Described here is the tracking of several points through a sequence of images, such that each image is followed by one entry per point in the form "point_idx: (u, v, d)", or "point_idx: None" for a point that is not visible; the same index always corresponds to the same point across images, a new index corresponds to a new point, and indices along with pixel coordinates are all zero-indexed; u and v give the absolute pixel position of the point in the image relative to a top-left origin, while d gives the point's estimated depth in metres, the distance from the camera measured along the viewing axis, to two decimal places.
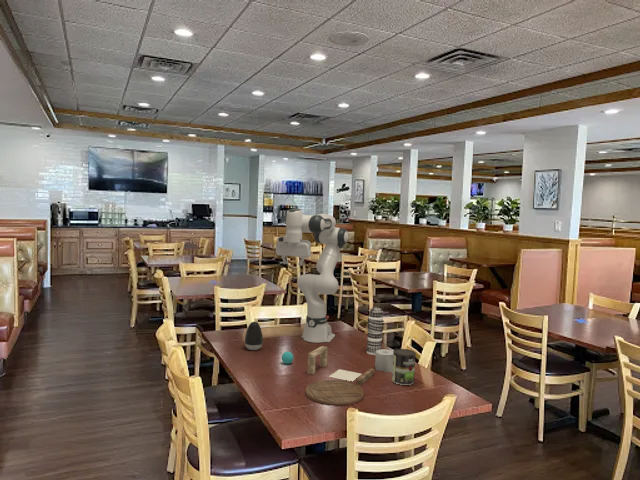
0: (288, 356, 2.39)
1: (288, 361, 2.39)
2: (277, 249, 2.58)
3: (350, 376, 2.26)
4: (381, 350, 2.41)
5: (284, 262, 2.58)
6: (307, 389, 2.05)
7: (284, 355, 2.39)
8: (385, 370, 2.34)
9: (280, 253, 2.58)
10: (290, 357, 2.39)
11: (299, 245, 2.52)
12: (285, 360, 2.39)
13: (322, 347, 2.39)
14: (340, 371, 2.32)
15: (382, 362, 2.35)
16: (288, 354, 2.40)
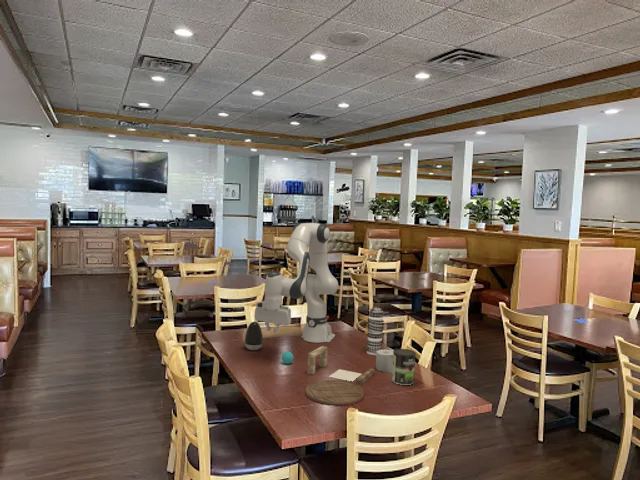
0: (288, 356, 2.39)
1: (288, 361, 2.39)
2: (256, 314, 2.46)
3: (350, 376, 2.26)
4: (382, 350, 2.41)
5: (267, 329, 2.45)
6: (307, 389, 2.05)
7: (284, 355, 2.39)
8: (386, 370, 2.34)
9: (259, 319, 2.46)
10: (290, 357, 2.39)
11: (278, 311, 2.41)
12: (285, 360, 2.39)
13: (322, 347, 2.39)
14: (340, 371, 2.32)
15: (383, 362, 2.34)
16: (288, 354, 2.40)
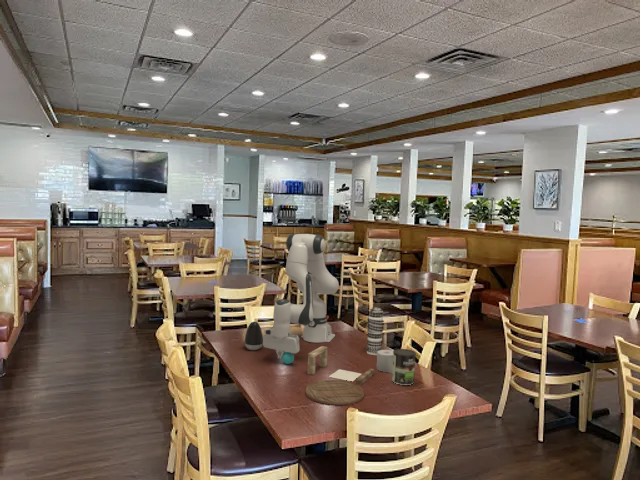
0: (289, 357, 2.39)
1: (288, 362, 2.39)
2: (264, 341, 2.45)
3: (350, 376, 2.26)
4: (382, 350, 2.41)
5: (279, 357, 2.42)
6: (307, 389, 2.05)
7: (285, 355, 2.39)
8: (386, 371, 2.34)
9: (267, 346, 2.44)
10: (291, 358, 2.39)
11: (286, 339, 2.39)
12: (286, 361, 2.39)
13: (322, 347, 2.39)
14: (340, 371, 2.32)
15: (384, 362, 2.34)
16: (289, 355, 2.39)
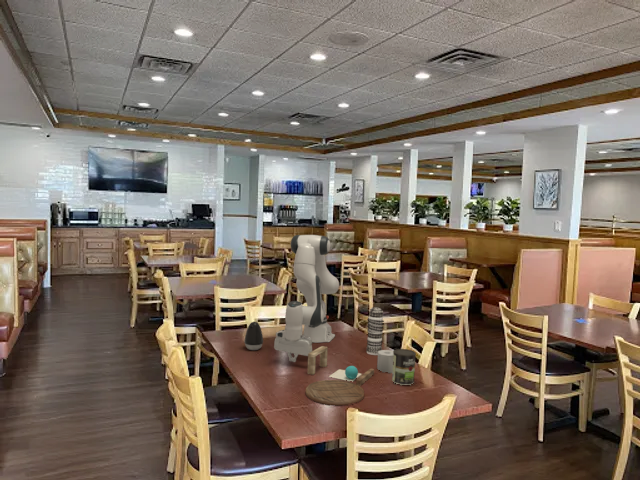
0: (351, 369, 2.21)
1: (354, 373, 2.21)
2: (276, 344, 2.42)
3: None
4: (383, 351, 2.40)
5: (290, 359, 2.40)
6: (307, 389, 2.05)
7: (347, 371, 2.22)
8: (387, 371, 2.34)
9: (279, 349, 2.41)
10: (353, 368, 2.22)
11: (299, 342, 2.36)
12: (351, 374, 2.21)
13: (322, 347, 2.39)
14: (340, 371, 2.32)
15: (384, 362, 2.34)
16: (349, 367, 2.22)
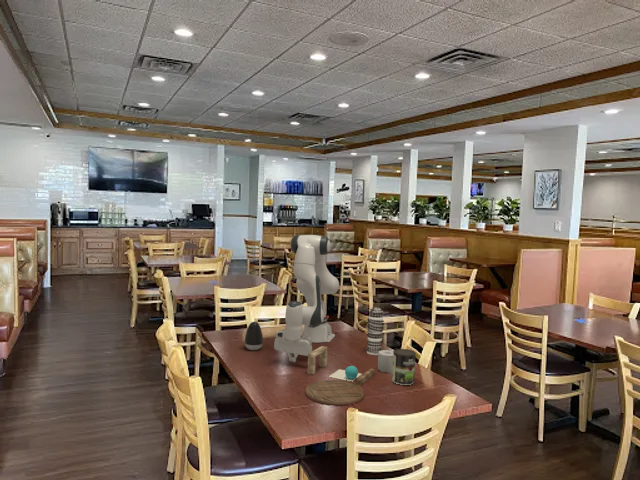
0: (351, 369, 2.21)
1: (354, 373, 2.21)
2: (276, 344, 2.42)
3: None
4: (384, 351, 2.40)
5: (290, 359, 2.40)
6: (307, 389, 2.05)
7: (347, 371, 2.22)
8: (388, 371, 2.33)
9: (279, 349, 2.41)
10: (353, 368, 2.22)
11: (299, 342, 2.36)
12: (351, 374, 2.21)
13: (322, 347, 2.39)
14: (340, 371, 2.32)
15: (385, 362, 2.34)
16: (349, 367, 2.22)
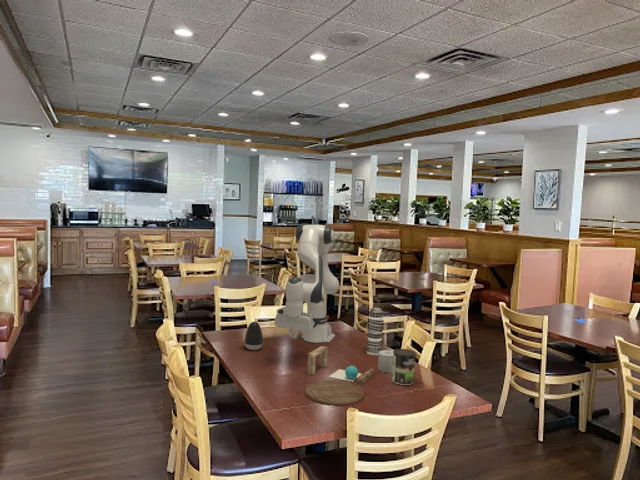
0: (351, 369, 2.21)
1: (354, 373, 2.21)
2: (277, 321, 2.41)
3: None
4: (384, 351, 2.40)
5: (291, 336, 2.39)
6: (307, 389, 2.05)
7: (347, 371, 2.22)
8: (388, 371, 2.33)
9: (280, 325, 2.41)
10: (353, 368, 2.22)
11: (300, 318, 2.35)
12: (351, 374, 2.21)
13: (322, 347, 2.39)
14: (340, 371, 2.32)
15: (385, 363, 2.33)
16: (349, 367, 2.22)
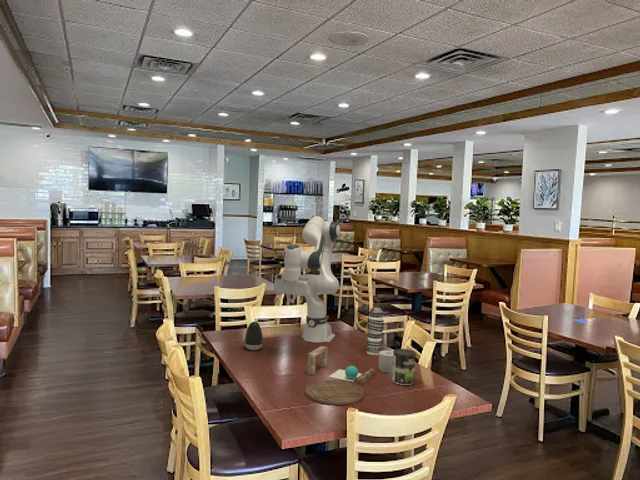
0: (351, 369, 2.21)
1: (354, 373, 2.21)
2: (275, 286, 2.51)
3: None
4: (384, 351, 2.40)
5: (289, 301, 2.49)
6: (307, 389, 2.05)
7: (347, 371, 2.22)
8: (388, 371, 2.33)
9: (278, 291, 2.51)
10: (353, 368, 2.22)
11: (297, 283, 2.45)
12: (351, 374, 2.21)
13: (322, 347, 2.39)
14: (340, 371, 2.32)
15: (385, 363, 2.33)
16: (349, 367, 2.22)
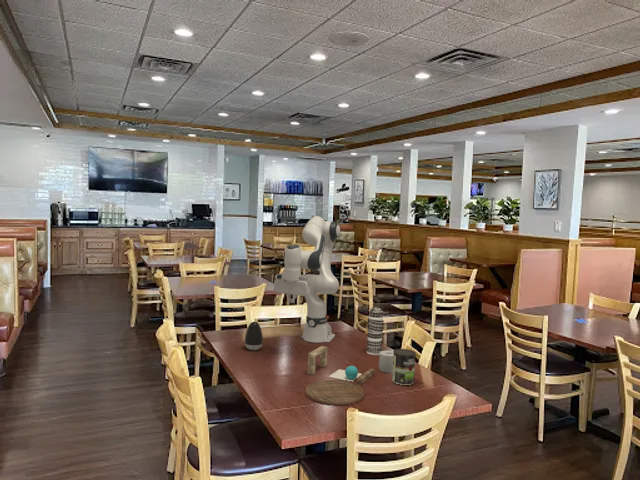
0: (351, 369, 2.21)
1: (354, 373, 2.21)
2: (275, 286, 2.51)
3: None
4: (385, 351, 2.39)
5: (289, 301, 2.49)
6: (307, 389, 2.05)
7: (347, 371, 2.22)
8: (389, 371, 2.33)
9: (278, 290, 2.51)
10: (353, 368, 2.22)
11: (297, 283, 2.45)
12: (351, 374, 2.21)
13: (322, 347, 2.39)
14: (340, 371, 2.32)
15: (386, 363, 2.33)
16: (349, 367, 2.22)
